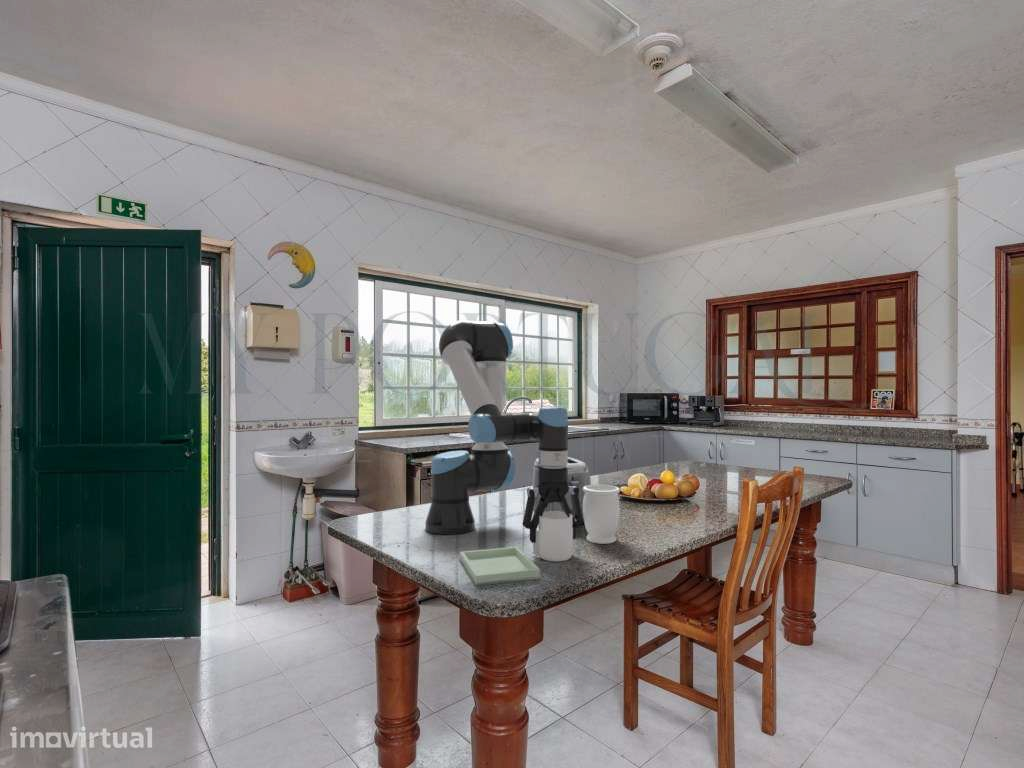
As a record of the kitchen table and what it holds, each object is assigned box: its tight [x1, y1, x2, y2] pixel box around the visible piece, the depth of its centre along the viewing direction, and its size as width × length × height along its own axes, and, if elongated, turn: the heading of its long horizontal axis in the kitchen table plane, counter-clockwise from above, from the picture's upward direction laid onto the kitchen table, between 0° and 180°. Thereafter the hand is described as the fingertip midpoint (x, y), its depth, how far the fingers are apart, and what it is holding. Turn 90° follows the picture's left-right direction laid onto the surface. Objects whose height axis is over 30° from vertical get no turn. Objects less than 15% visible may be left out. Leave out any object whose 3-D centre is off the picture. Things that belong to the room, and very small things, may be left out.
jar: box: [583, 484, 621, 545], centre depth 155 cm, size 11×10×15 cm
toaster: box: [532, 456, 592, 524], centre depth 182 cm, size 17×30×19 cm, turn 14°
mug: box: [538, 511, 573, 563], centre depth 141 cm, size 9×12×11 cm
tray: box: [459, 546, 541, 587], centre depth 130 cm, size 18×15×2 cm
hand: (553, 553), depth 141 cm, fingers closed on mug, 9 cm apart
